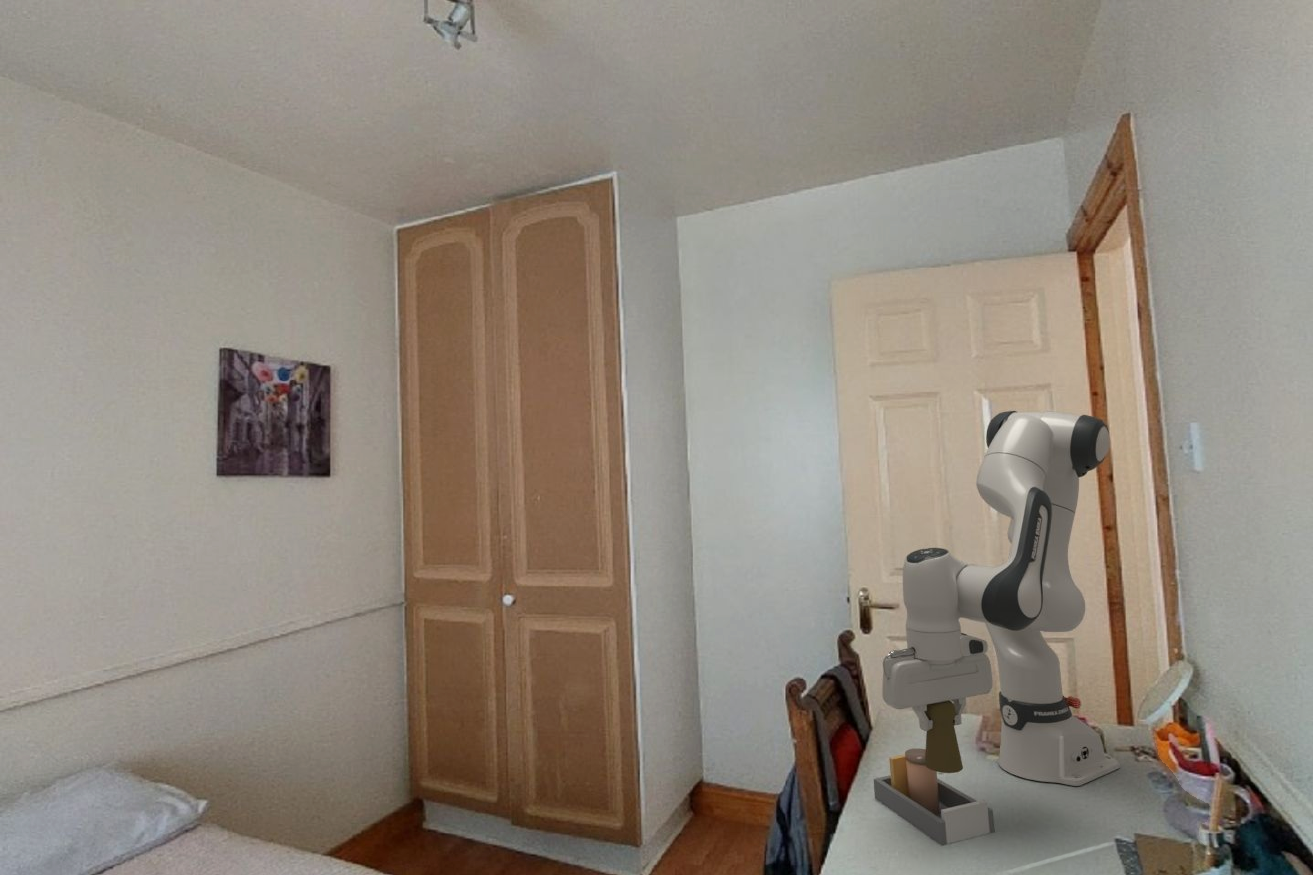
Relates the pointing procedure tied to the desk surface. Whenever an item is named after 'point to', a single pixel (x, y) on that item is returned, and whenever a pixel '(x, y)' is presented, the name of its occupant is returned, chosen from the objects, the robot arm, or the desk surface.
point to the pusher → (899, 774)
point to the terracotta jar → (922, 781)
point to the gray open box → (955, 816)
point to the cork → (942, 739)
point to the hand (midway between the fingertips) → (940, 726)
